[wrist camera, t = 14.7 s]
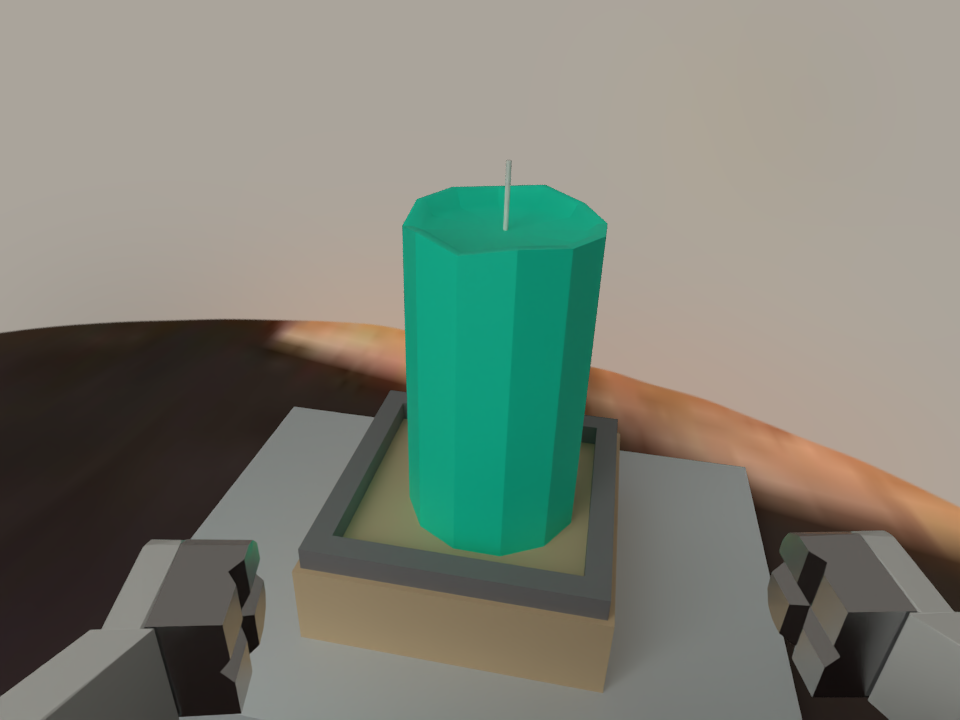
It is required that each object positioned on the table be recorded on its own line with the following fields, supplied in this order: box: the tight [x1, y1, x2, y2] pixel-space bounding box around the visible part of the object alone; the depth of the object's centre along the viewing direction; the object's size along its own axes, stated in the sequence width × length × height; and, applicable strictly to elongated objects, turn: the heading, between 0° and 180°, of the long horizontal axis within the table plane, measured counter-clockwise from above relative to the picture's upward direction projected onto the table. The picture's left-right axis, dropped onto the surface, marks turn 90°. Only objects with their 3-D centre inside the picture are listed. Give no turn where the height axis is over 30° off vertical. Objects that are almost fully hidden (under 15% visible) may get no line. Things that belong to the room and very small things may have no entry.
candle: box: [402, 160, 607, 556], centre depth 22 cm, size 6×6×12 cm
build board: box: [179, 390, 802, 720], centre depth 26 cm, size 22×16×5 cm
